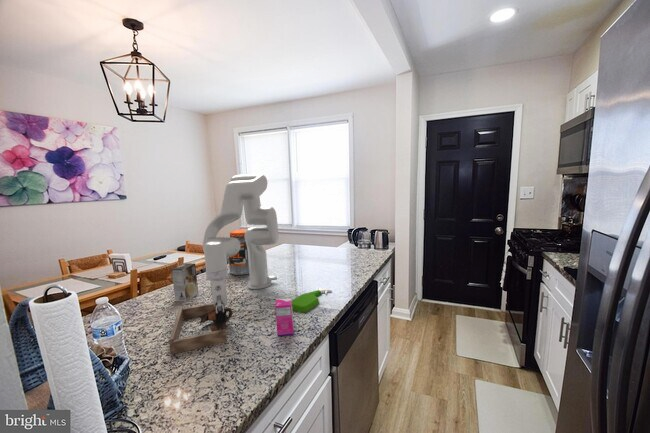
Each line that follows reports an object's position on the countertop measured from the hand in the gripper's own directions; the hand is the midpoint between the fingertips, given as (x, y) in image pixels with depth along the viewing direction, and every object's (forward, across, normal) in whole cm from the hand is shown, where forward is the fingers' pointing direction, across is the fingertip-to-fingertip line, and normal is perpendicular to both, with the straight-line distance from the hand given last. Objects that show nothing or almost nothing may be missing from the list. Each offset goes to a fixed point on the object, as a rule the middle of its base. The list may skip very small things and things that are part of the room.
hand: (220, 316), depth 104 cm
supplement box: (+4, -16, -21) cm, 27 cm away
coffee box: (+3, +37, +15) cm, 40 cm away
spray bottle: (+4, +6, -39) cm, 40 cm away
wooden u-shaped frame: (+3, +1, +7) cm, 8 cm away
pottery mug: (+4, 0, +1) cm, 4 cm away
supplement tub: (+3, +65, -15) cm, 67 cm away
